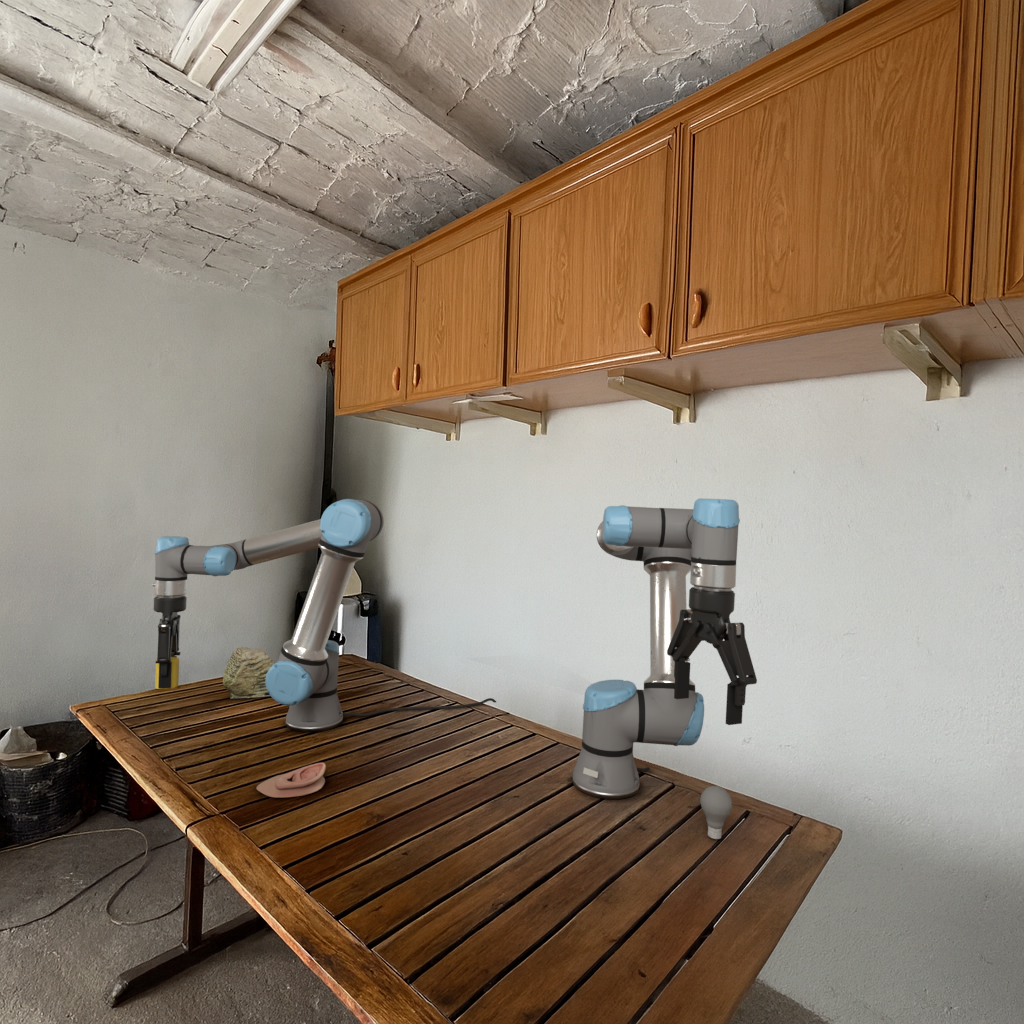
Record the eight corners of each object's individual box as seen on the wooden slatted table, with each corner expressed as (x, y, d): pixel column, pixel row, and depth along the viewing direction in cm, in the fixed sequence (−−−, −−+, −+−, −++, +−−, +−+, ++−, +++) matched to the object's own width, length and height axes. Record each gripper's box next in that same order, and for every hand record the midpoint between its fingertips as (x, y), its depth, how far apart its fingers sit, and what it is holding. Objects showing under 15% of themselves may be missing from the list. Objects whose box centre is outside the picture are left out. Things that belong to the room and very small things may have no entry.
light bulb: (693, 829, 126) (696, 780, 126) (722, 829, 127) (725, 780, 127) (705, 846, 121) (708, 794, 120) (735, 846, 121) (738, 794, 121)
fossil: (218, 695, 195) (220, 647, 195) (278, 685, 208) (279, 640, 207) (228, 703, 189) (230, 653, 188) (289, 692, 201) (290, 645, 201)
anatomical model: (248, 775, 133) (279, 754, 144) (247, 794, 133) (278, 771, 144) (306, 783, 130) (332, 761, 142) (305, 802, 130) (332, 779, 142)
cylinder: (179, 682, 169) (180, 656, 169) (176, 688, 164) (177, 661, 164) (157, 683, 167) (158, 657, 167) (153, 689, 162) (154, 662, 162)
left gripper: (163, 590, 173) (160, 674, 173) (144, 601, 155) (141, 695, 156) (193, 590, 175) (190, 674, 175) (178, 601, 157) (175, 694, 158)
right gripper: (651, 578, 119) (646, 690, 120) (747, 600, 96) (740, 738, 97) (684, 578, 122) (678, 687, 123) (784, 599, 99) (777, 733, 100)
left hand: (167, 684), depth 165 cm, fingers closed on cylinder, 5 cm apart
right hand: (706, 710), depth 110 cm, fingers open, 13 cm apart
